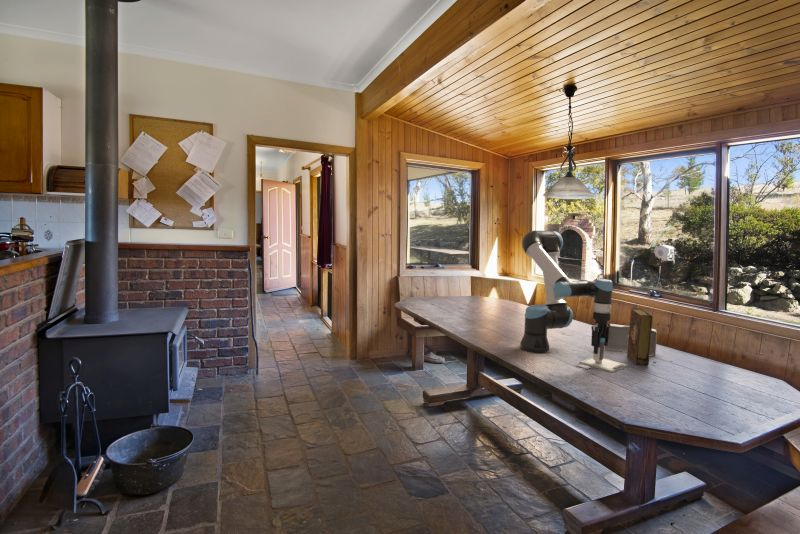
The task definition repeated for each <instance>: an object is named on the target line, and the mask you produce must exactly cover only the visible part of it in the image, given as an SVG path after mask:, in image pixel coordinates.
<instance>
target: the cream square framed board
mask: <svg viewBox="0 0 800 534" xmlns="http://www.w3.org/2000/svg"><path fill="white" fill-rule="evenodd" d="M579 364H583V365H586V366H590V367H591V366H592V368H596V369H599V370H602V371H605V372H610V373H614V372H617V371H619V370H622V369H624V368H626V367H628V364H627V363H623V362H619V361H615V360H612V359H608V358H605V357H604V359H602V363H596V362H595V360H593V356H591V357H589V358H586V359H584V360H583V359H582V360H581V361H579ZM621 368H622V369H621Z"/></svg>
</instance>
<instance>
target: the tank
mask: <svg viewBox="0 0 800 534" xmlns="http://www.w3.org/2000/svg"><path fill="white" fill-rule="evenodd" d="M609 324H610V327H609V336H608V343H606V344H607V346H605V350H607V349H608V350H609V351H614V350H615V352H621V351H622V352H621V353H627V352H628V340H629V328H630V325H623V324H622V325H621V324H615V323H609ZM657 339H658V332H657V329H655V328H652V332H651V344H650V356H649V357H654V356H656V354H657V353H656V352H657Z"/></svg>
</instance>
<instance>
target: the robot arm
mask: <svg viewBox="0 0 800 534" xmlns="http://www.w3.org/2000/svg"><path fill="white" fill-rule="evenodd" d="M521 245H522V246H521V247H522V250H523V252H524V253H525V254H526V256H528V257H529V258H531V259H532V260H533V262H535V264H536V265H537V267H538V268H540V270H541V271H542V275H543V282H544V290H545V297H546V301H545V302H544V304H531V305H529V306H527V307H526V308H525V313H524V332H523V336H522V339H521V341H520V343H519V348H520V349H521V350H522V351H525V352H529V353H535V354H536V353H537V354H544V353H549V352H550V343H549V340H548V330H552V329H563V328H567V327H569V326H570V325H571V323H573V319H574V312H573V310H572V308H571V307H569V306H568V303H567V301H566V300H564V298H573V297H575V298H576V297H578V298H579V297H589V298H594V299H593V300H594V301H593V312H592V319H593V320H595V323H594V325H592V326H591V341H590V344H591V345H590V346H591V347H593V356H592V357H593V360H597V361H599V356H600V347H599V345H600V339H601V337H602V338H605V342H604V354H605V352H606V351H605V350H606V349H605V346H607V344H606V343H608V336H609V327H610V324H611V323H608V322H610V320H611V311H612V310H611V309H612V298H613V297H612V295H613V291H614V290H613V281H612V280H611V279H605V278H597V279H596V280H595V281H592V280H587V279H579V280H575V281H572V280H570V278H569V277H568V276H567V275H566V274H565V273H564V272H563V270H562V269H561V268H560V266H559V260H558V259H559V258H558V256H559V255H560V254H561V250H562V249H563V246H564V240H563V237H562V235H561V234H560V233H559V232H558V231H556V230H555V231H554V230H549V229H548V230H530V231H528V232H527V233H525V234H524V236H523V238H522V240H521ZM604 358H605V355H604V356H603V359H604Z"/></svg>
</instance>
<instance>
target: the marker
mask: <svg viewBox="0 0 800 534" xmlns="http://www.w3.org/2000/svg"><path fill="white" fill-rule="evenodd" d="M604 342H605V338H602V337H601V339H600V345H599V347H600V356H599V361H597V360H595V362H596V363H602V359H603V356H604V357H605V353H604Z"/></svg>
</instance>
